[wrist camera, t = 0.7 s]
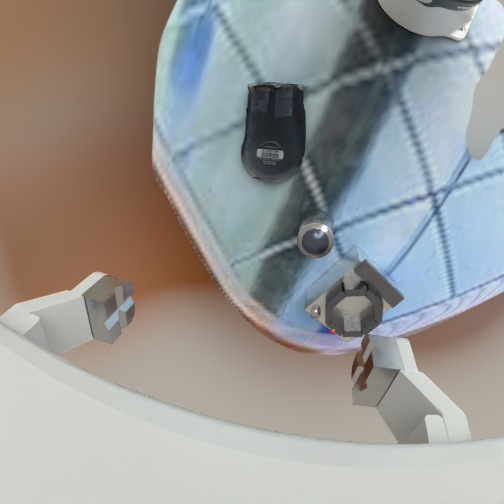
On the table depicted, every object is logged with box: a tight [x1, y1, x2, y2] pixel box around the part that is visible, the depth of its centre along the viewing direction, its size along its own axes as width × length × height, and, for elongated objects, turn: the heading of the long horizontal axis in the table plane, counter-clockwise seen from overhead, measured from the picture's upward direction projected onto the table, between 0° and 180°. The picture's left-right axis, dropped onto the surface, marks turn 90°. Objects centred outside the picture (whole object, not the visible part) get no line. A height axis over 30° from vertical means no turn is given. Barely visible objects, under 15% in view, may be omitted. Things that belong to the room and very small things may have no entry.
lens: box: [297, 210, 334, 258], centre depth 45 cm, size 5×5×7 cm
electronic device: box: [241, 82, 308, 182], centre depth 42 cm, size 9×6×15 cm
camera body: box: [305, 244, 404, 342], centre depth 47 cm, size 13×10×9 cm
